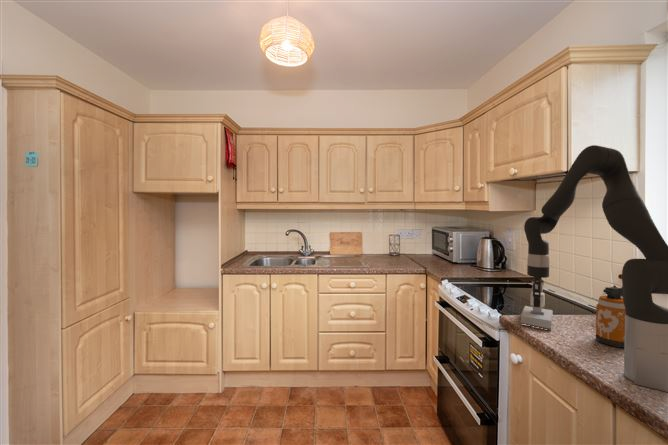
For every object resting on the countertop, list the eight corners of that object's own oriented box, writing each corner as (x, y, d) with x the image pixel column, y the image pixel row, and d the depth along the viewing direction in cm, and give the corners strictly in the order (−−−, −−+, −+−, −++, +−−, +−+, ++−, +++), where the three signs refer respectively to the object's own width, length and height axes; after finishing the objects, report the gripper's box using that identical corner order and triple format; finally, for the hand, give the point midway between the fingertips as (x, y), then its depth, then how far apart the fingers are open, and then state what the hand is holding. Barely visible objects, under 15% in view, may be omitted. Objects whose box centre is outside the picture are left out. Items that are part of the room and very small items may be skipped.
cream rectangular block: (543, 313, 120) (543, 295, 120) (530, 311, 123) (530, 293, 123) (544, 310, 124) (544, 292, 124) (531, 308, 127) (531, 291, 127)
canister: (589, 340, 106) (590, 284, 106) (608, 335, 110) (609, 282, 110) (621, 350, 98) (622, 290, 97) (640, 345, 102) (641, 287, 101)
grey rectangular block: (550, 331, 114) (551, 320, 114) (520, 325, 121) (520, 315, 120) (552, 319, 127) (552, 310, 127) (524, 314, 133) (525, 305, 133)
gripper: (548, 268, 115) (547, 311, 116) (550, 263, 126) (549, 303, 127) (525, 266, 120) (524, 308, 120) (529, 261, 131) (528, 299, 131)
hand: (537, 305), depth 124 cm, fingers closed on cream rectangular block, 4 cm apart
